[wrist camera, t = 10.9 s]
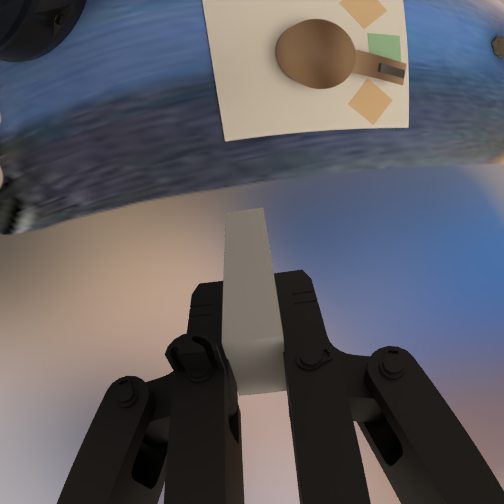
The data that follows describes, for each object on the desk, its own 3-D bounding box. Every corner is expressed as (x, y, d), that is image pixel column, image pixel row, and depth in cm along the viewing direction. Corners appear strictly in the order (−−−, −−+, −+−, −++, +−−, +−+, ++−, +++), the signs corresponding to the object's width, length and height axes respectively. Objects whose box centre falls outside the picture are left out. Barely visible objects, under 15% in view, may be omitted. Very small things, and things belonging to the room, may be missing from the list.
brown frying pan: (271, 79, 29) (277, 83, 26) (278, 18, 25) (285, 13, 22) (384, 99, 31) (403, 107, 27) (393, 43, 27) (414, 44, 23)
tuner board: (201, -10, 24) (200, -12, 23) (396, -12, 23) (401, -13, 22) (225, 138, 35) (225, 141, 33) (403, 125, 34) (408, 127, 33)
